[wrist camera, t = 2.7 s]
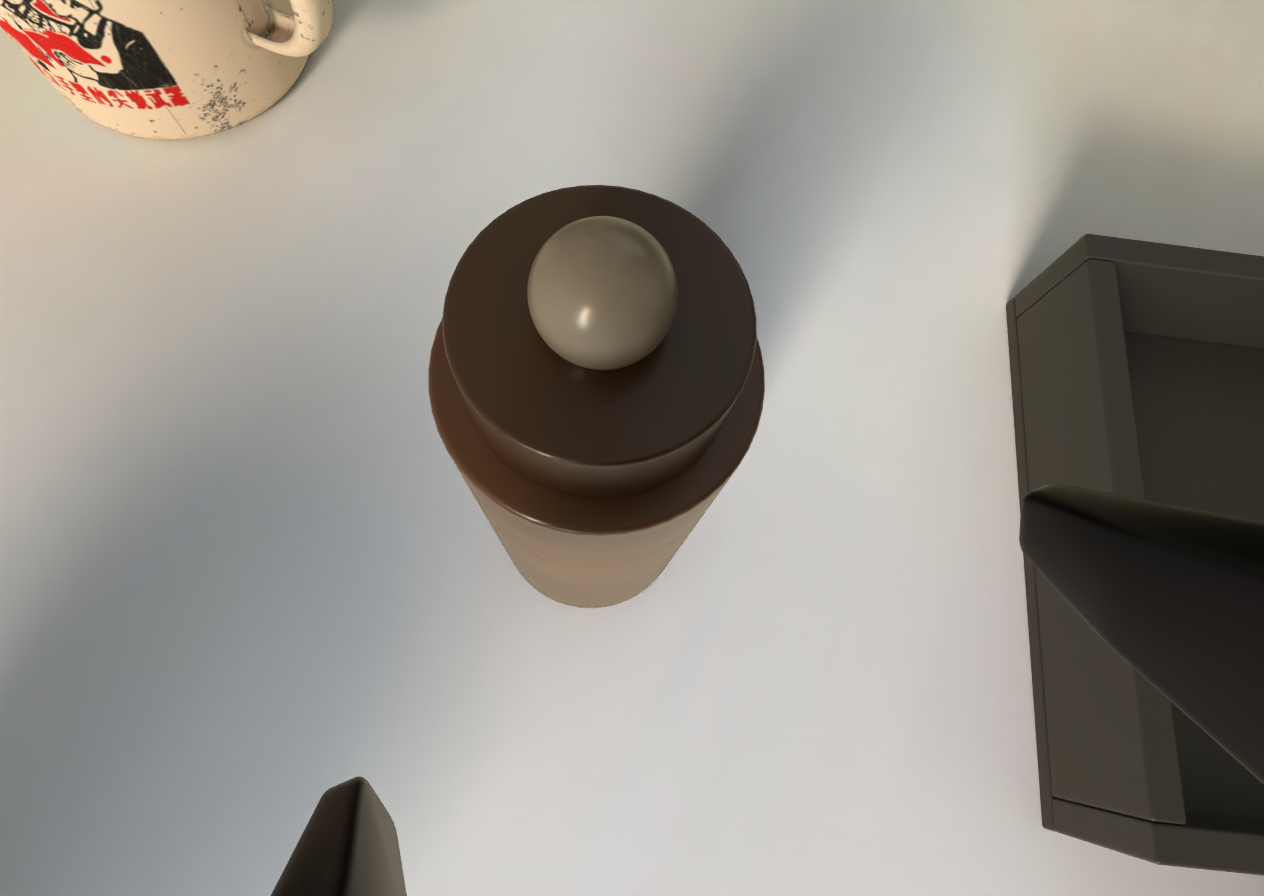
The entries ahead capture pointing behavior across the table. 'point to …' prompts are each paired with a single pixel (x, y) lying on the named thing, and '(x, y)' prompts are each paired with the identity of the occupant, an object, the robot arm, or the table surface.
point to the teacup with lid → (169, 57)
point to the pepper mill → (596, 384)
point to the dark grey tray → (1151, 470)
